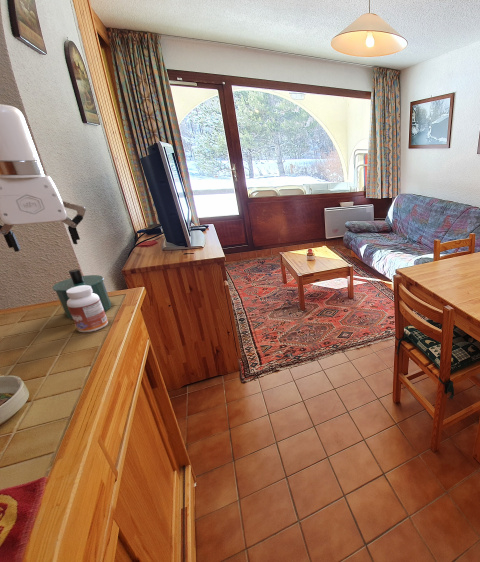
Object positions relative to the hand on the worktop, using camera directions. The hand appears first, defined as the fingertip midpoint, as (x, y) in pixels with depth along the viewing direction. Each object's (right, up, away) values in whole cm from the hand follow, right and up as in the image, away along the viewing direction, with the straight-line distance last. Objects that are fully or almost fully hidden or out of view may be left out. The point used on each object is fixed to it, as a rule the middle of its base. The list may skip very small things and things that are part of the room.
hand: (47, 246), depth 73 cm
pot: (-6, -17, +17) cm, 24 cm away
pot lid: (-6, -9, +14) cm, 17 cm away
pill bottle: (+3, -20, +9) cm, 22 cm away
